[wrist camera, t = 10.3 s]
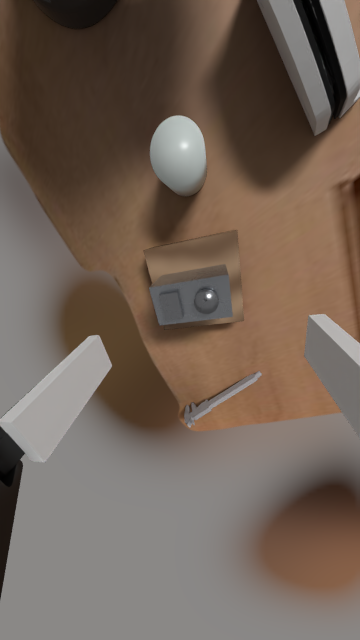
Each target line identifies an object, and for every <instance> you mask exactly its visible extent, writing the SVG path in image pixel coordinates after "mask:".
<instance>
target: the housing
mask: <svg viewBox="0 0 360 640" xmlns="http://www.w3.org/2000/svg"><path fill="white" fill-rule="evenodd" d="M149 290H150V293H151V297H152V301H153V304H154V308H155V311H156V315H157V319H158V322H159V325H168V324H176V323H185V322H193V321H202V320H210V319H219V318H227V317H233V312H232V303H231V293H230V283H229V274H228V271H227V267H226V264H222V265H216V266H211V267H205V268H200V269H194V270H188V271H183V272H177V273H172V274H166V275H162V276H161V277H160V278H158V279H157V280H156V281H155V282H154V283H153V284H152V285H151V286H150V287H149Z"/></svg>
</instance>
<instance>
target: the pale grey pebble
mask: <svg viewBox="0 0 360 640" xmlns="http://www.w3.org/2000/svg"><path fill="white" fill-rule="evenodd" d="M150 159H151V164H152V167H153V170H154V172H155V174H156V175H157V177H158V178H159V179H160V180H161V181H162V182H163V183H164V184H166V185H167V186H168V187H169V188H170V189H171V190H173V191H174V192H175V193H176V194H178V195H180V196H191V195H193V194H195V193H197V192H198V191H199V190H200V189H201V187H202V186H203V184H204V182H205V180H206V176H207V162H206V153H205V144H204V139H203V135H202V133H201V131H200V129H199V127H198V126H197V125H196V124H195V123H194V122H193V121H192V120H191V119H189V118H187V117H184V116H172V117H170V118H167V119H166V120H164V121H163V122H162V123H161V124H160V125H159V126H158V128H157V129H156V131H155V133H154V135H153V138H152V141H151V146H150Z"/></svg>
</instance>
